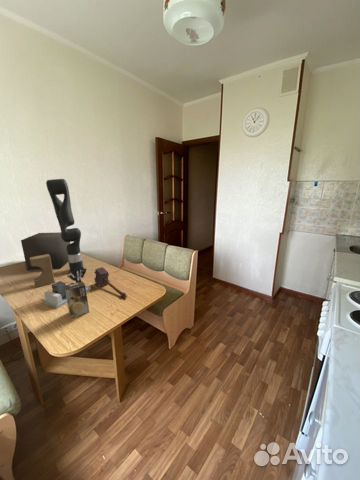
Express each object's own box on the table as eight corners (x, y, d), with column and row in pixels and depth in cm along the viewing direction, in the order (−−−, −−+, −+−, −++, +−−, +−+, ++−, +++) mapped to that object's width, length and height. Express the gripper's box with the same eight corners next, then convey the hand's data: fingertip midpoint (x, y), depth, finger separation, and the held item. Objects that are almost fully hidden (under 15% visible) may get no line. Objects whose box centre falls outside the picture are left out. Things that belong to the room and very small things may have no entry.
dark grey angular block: (44, 259, 185) (39, 232, 178) (72, 258, 187) (68, 232, 181) (27, 270, 161) (20, 240, 154) (60, 268, 163) (55, 239, 157)
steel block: (61, 294, 122) (59, 281, 119) (67, 296, 120) (65, 282, 117) (54, 298, 117) (51, 284, 115) (59, 300, 115) (57, 286, 113)
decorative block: (35, 287, 133) (29, 259, 127) (34, 284, 137) (29, 257, 132) (55, 282, 140) (50, 255, 134) (53, 280, 144) (48, 253, 139)
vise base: (77, 285, 136) (76, 276, 134) (90, 289, 131) (89, 280, 129) (43, 303, 115) (41, 293, 114) (57, 308, 111) (55, 297, 109)
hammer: (103, 278, 143) (103, 266, 139) (130, 302, 125) (131, 289, 121) (94, 281, 138) (93, 269, 135) (121, 307, 120) (121, 294, 116)
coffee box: (86, 306, 112) (83, 280, 108) (89, 312, 107) (85, 285, 103) (68, 312, 107) (64, 285, 103) (70, 318, 102) (65, 290, 98)
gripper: (69, 264, 117) (74, 291, 122) (88, 257, 129) (91, 281, 133) (61, 262, 120) (65, 288, 125) (79, 255, 132) (83, 279, 136)
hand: (79, 285), depth 129 cm, fingers closed
